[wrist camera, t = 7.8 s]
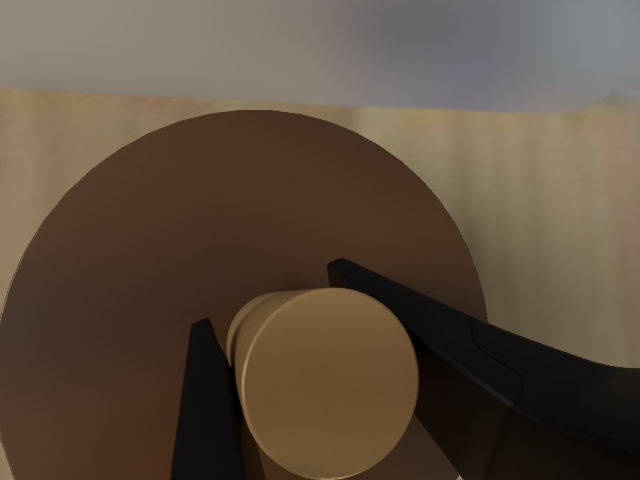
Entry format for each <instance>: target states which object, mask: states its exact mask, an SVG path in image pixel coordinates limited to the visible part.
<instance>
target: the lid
mask: <svg viewBox="0 0 640 480" xmlns="http://www.w3.org/2000/svg"><path fill="white" fill-rule="evenodd" d="M338 258H345V259H348V260H350V261H352V262H354V263H356V264H359V265H361V266H363V267H365V268H367V269H370V270H372V271H374V272H376V273H378V274H381V275H383V276H385V277H387V278H389V279H392V280H394V281H396V282H398V283H400V284H403V285H405V286H407V287H409V288H411V289H414V290H416V291H418V292H420V293H422V294H425V295H427V296H429V297H431V298H434V299H436V300H438V301H440V302H442V303H445V304H447V305H449V306H451V307H453V308H456V309H458V310H460V311H462V312H464V313H466V314H467V316H468V315H471V316H473V317H476V318H478V319H480V320H482V321H485V322H487V323H488V319H487V312H486V305H485V299H484V295H483V291H482V288H481V284H480V280H479V276H478V273H477V270H476V267H475V265H474V262H473V260H472V257H471V255H470V252H469V249H468V247H467V245H466V243H465V241H464V239H463V237H462V235H461V234H460V232H459V230H458V228H457V226H456V224H455V222H454V221H453V219H452V218H451V216H450V215H449V213H448V212H447V211H446V209H445V208H444V206H443V205H442V203H441V202H440V200H439V199H438V198H437V197H436V196H435V195H434V193H433V192H432V191H431V190H430V189H429V188H428V186H427V185H426V184H425V183H424V182H423V181H422V180H421V179H420V178H419V177H418V176H417V175H416V174H415V173H414V172H413V171H412V170H410V169H409V168H408V167H407V166H406V165H405V164H404V163H403V162H402V161H400V160H399V159H398V158H396V157H395V156H393V155H392V154H391V153H389V152H388V151H386V150H385V149H384V148H382V147H381V146H379V145H378V144H376V143H374V142H372V141H370V140H368V139H367V138H365V137H363V136H361V135H359V134H358V133H356V132H354V131H351V130H349V129H346V128H343V127H341V126H338V125H336V124H333V123H331V122H328V121H325V120H321V119H317V118H313V117H309V116H306V115H302V114H295V113H288V112H281V111H273V110H237V111H228V112H220V113H211V114H207V115H203V116H199V117H195V118H191V119H187V120H182V121H179V122H176V123H174V124H171V125H169V126H166V127H163V128H161V129H158V130H156V131H153V132H150V133H148V134H146V135H145V136H143V137H141V138H139V139H137V140H135V141H133V142H132V143H130V144H128V145H126V146H124V147H122V148H120V149H119V150H118V151H116V152H115V153H113V154H112V155H111V156H109V157H108V158H106V159H105V160H104V161H102V162H101V163H99V164H98V165H97V166H95V167H94V168H93V169H91V170H90V171H89V172H88V173H87V174H86V175H85V176H84V177H83V178H82V179H81V180H80V181H79V182H77V183H76V184H75V185H74V186H73V187H72V188H71V189H70V190H69V191H68V192H67V193H66V194H65V195H64V196H63V198H62V199H61V200H60V201H59V202H58V204H57V205H56V206H55V207H54V209H53V210H52V211H51V212H50V213H49V215H48V216H47V217H46V218H45V220H44V221H43V222H42V224H41V226H40V227H39V229H38V230H37V232H36V234H35V235H34V237H33V239H32V240H31V242H30V243H29V245H28V247H27V248H26V250H25V252H24V253H23V256H22V258H21V260H20V262H19V265H18V267H17V269H16V272H15V274H14V276H13V278H12V281H11V283H10V285H9V288H8V291H7V295H6V298H5V302H4V305H3V309H2V313H1V316H0V440H1V443H2V446H3V448H4V451H5V454H6V457H7V460H8V463H9V466H10V469H11V472H12V475H13V477H14V479H15V480H169V479H170V478H171V476H170V470H171V463H172V456H173V449H174V442H175V434H176V427H177V420H178V413H179V406H180V399H181V392H182V384H183V377H184V370H185V363H186V356H187V349H188V342H189V334H190V328H191V325H192V324H193V323H195V322H197V321H199V320H202V319H204V318H209V319H210V320H211V322H212V325H213V327H214V329H215V331H216V334H217V336H218V338H219V340H220V343H221V345H222V347H223V350H224V352H225V355H226V357H227V359H228V362H229V364H230V367H231V369H232V372H233V376H234V380H235V384H236V389H237V392H238V396H239V399H240V403H241V406H242V410H243V413H244V416H245V419H246V422H247V425H248V428H249V430H250V432H251V434H252V435H253V437H254V439H255V441H256V443H257V447H258V451H259V455H260V458H261V462H262V466H263V469H264V473H265V477H266V480H456V479H457V477H458V476H459V473H458V472H457V470H456V469H455V468H454V466H453V465H452V464H451V462H450V461H449V460H448V458H447V457H446V456H445V454H444V453H443V452H442V450H441V449H440V448H439V446H438V445H437V444H436V442H435V441H434V440H433V438H432V437H431V436H430V434H429V433H428V432H427V430H426V429H425V428H424V426H423V425H422V424H421V422H420V421H419V420H418V418H417V417H416V416H415V414H414V410H415V407H416V402H417V398H418V390H419V370H418V362H417V358H416V354H415V350H414V347H413V345H412V342H411V339H410V337H409V335H408V334H407V332H406V330H405V328H404V327H403V325H402V324H401V322H400V321H399V319H398V318H397V317H396V316H395V315H394V314H393V313H392V312H391V311H390V310H389V309H388V308H387V307H386V306H385V305H383V304H382V303H381V302H379V301H377V300H376V299H374V298H373V297H371V296H368V295H366V294H364V293H362V292H358V291H355V290H351V289H346V288H330V286H329V280H328V272H327V264H328V263H329V262H331V261H334V260H336V259H338Z"/></svg>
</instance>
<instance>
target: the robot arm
mask: <svg viewBox="0 0 640 480" xmlns="http://www.w3.org/2000/svg"><path fill="white" fill-rule="evenodd" d="M327 272H328V280H329V286H330V288H346V289H351V290H355V291H358V292H362V293H364V294H366V295H368V296H371V297H373V298H374V299H376V300H377V301H379V302H381V303H382V304H383V305H385V306H386V307H387V308H388V309H389V310H390V311H391V312H392V313H393V314H394V315H395V316H396V317H397V318H398V319H399V321H400V322H401V324H402V325H403V327H404V328H405V330H406V332H407V334H408V335H409V337H410V339H411V342H412V345H413V347H414V350H415V354H416V358H417V362H418V370H419V390H418V398H417V402H416V407H415V410H414V414H415V416H416V417H417V418H418V420H419V421H420V422H421V424H422V425H423V426H424V428H425V429H426V430H427V432H428V433H429V434H430V436H431V437H432V438H433V440H434V441H435V442H436V444H437V445H438V446H439V448H440V449H441V450H442V452H443V453H444V454H445V456H446V457H447V458H448V460H449V461H450V462H451V464H452V465H453V466H454V468H455V469H456V470H457V472H458V473H459V474H460V476H461V477H462V478H463V480H640V368H624V367H615V366H609V365H604V364H600V363H596V362H593V361H590V360H587V359H584V358H581V357H578V356H575V355H572V354H569V353H567V352H564V351H561V350H558V349H555V348H552V347H550V346H547V345H544V344H541V343H538V342H535V341H532V340H530V339H527V338H524V337H522V336H519V335H516V334H514V333H511V332H508V331H506V330H503V329H501V328H499V327H496V326H494V325H492V324H489V323H487V322H485V321H482V320H480V319H478V318H476V317H473V316H471V315H468V316H467V314H466V313H464V312H462V311H460V310H458V309H456V308H453V307H451V306H449V305H447V304H445V303H442V302H440V301H438V300H436V299H434V298H431V297H429V296H427V295H425V294H422V293H420V292H418V291H416V290H414V289H411V288H409V287H407V286H405V285H403V284H400V283H398V282H396V281H394V280H392V279H389V278H387V277H385V276H383V275H381V274H378V273H376V272H374V271H372V270H370V269H367V268H365V267H363V266H361V265H359V264H356V263H354V262H352V261H350V260H348V259H345V258H338V259H336V260H334V261H331V262H329V263H328V264H327ZM170 476H171V478H170V479H169V480H266V477H265V473H264V469H263V466H262V462H261V458H260V455H259V451H258V447H257V443H256V441H255V439H254V437H253V435H252V434H251V432H250V430H249V428H248V425H247V422H246V419H245V416H244V413H243V410H242V406H241V403H240V399H239V396H238V392H237V389H236V384H235V380H234V376H233V372H232V369H231V367H230V364H229V362H228V359H227V357H226V355H225V352H224V350H223V347H222V345H221V343H220V340H219V338H218V336H217V334H216V331H215V329H214V327H213V325H212V322H211V320H210V319H209V318H204V319H202V320H199V321H197V322H195V323H193V324H192V325H191V328H190V334H189V342H188V349H187V356H186V363H185V370H184V377H183V384H182V392H181V399H180V406H179V413H178V420H177V427H176V434H175V442H174V449H173V456H172V463H171V470H170Z"/></svg>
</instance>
